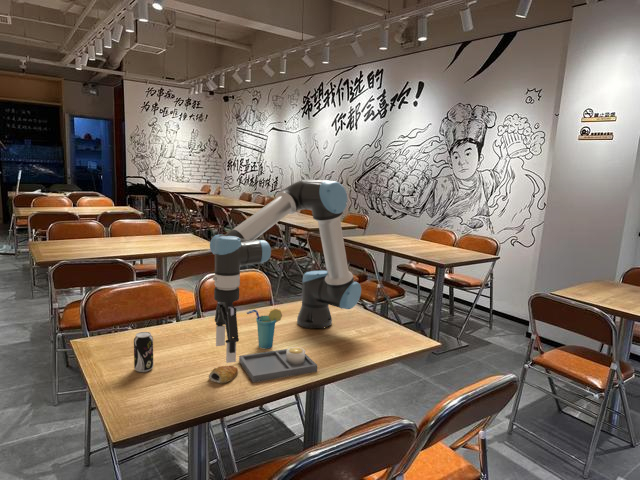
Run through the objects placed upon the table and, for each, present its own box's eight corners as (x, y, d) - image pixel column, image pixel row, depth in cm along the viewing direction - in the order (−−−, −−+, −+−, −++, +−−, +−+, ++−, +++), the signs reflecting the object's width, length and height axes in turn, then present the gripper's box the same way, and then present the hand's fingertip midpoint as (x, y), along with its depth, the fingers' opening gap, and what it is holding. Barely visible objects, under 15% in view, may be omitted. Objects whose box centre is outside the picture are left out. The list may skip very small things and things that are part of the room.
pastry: (227, 369, 146) (228, 358, 145) (243, 375, 142) (243, 364, 142) (206, 380, 138) (206, 368, 137) (222, 386, 134) (222, 374, 134)
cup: (250, 353, 158) (251, 313, 156) (241, 346, 165) (242, 307, 162) (284, 346, 166) (286, 308, 164) (274, 339, 172) (275, 302, 170)
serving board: (239, 361, 151) (239, 348, 151) (298, 352, 161) (298, 340, 160) (253, 382, 137) (253, 367, 136) (317, 371, 147) (317, 357, 146)
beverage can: (141, 375, 139) (141, 338, 137) (130, 370, 142) (129, 334, 140) (157, 368, 144) (156, 333, 142) (145, 364, 147) (145, 329, 145)
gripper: (206, 278, 144) (205, 340, 147) (224, 298, 122) (222, 371, 125) (228, 277, 148) (227, 338, 151) (250, 297, 125) (248, 367, 128)
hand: (225, 353), depth 138 cm, fingers open, 13 cm apart
